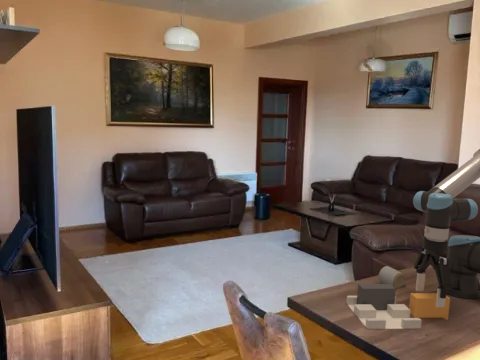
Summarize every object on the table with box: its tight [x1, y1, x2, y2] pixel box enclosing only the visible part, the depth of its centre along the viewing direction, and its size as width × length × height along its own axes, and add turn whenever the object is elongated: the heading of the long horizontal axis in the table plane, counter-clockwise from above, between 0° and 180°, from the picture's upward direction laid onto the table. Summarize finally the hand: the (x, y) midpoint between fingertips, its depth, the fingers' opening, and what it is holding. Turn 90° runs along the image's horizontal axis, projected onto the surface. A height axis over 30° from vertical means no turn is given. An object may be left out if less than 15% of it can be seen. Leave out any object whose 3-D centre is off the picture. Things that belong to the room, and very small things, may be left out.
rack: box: [346, 295, 423, 330], centre depth 151 cm, size 18×20×4 cm
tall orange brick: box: [408, 292, 451, 321], centre depth 152 cm, size 12×4×8 cm, turn 95°
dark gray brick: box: [356, 283, 397, 310], centre depth 156 cm, size 12×4×8 cm, turn 96°
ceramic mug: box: [378, 265, 406, 289], centre depth 181 cm, size 11×8×8 cm
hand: (429, 298), depth 152 cm, fingers open, 13 cm apart
